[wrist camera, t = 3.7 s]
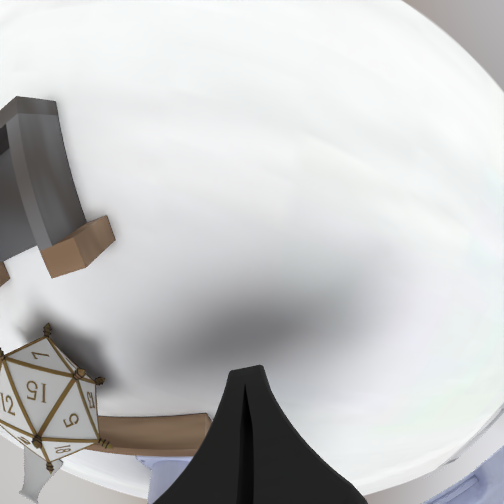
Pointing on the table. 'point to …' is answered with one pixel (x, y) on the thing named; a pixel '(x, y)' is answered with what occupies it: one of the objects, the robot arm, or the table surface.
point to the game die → (48, 401)
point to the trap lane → (69, 251)
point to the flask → (36, 474)
